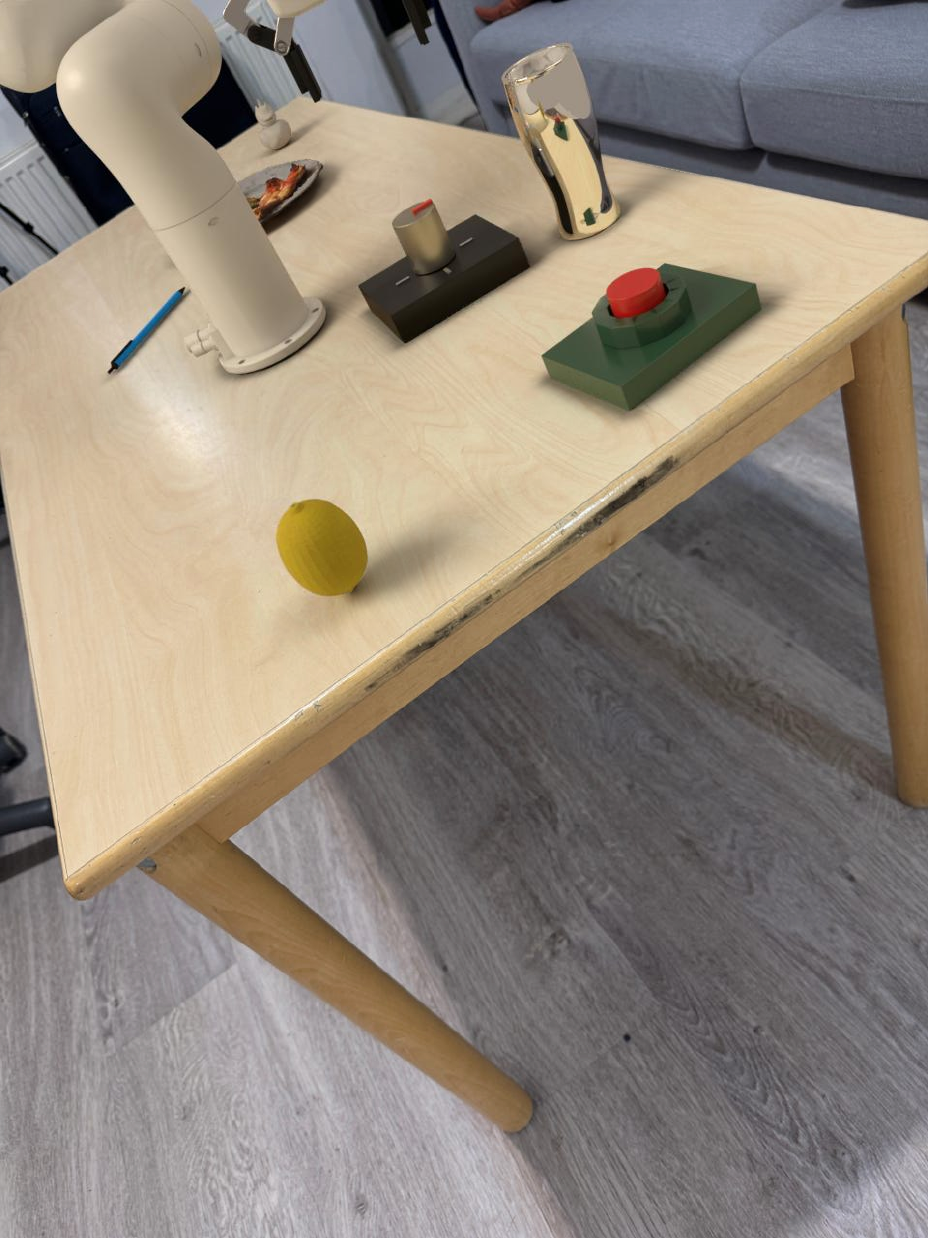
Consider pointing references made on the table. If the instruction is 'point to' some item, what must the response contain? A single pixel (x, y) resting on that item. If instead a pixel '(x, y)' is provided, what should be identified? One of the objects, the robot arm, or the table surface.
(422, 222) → the knob
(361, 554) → the lemon
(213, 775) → the table surface
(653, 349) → the switchbox
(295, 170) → the food plate
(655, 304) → the button
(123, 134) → the robot arm
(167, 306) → the pen
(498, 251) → the panel
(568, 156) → the beer glass
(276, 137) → the rubber duck
